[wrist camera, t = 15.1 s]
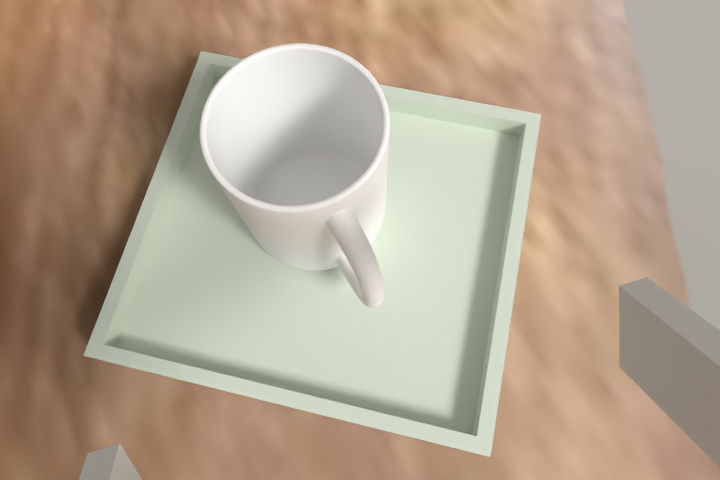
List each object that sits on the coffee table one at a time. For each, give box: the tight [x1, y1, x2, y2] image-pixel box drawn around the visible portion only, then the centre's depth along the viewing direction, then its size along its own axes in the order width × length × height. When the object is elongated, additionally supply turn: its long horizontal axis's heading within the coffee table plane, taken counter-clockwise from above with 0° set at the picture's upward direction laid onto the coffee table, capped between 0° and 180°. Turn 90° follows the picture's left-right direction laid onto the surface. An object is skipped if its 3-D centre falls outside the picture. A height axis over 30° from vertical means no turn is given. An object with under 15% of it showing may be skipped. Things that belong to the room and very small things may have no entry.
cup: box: [200, 43, 390, 308], centre depth 27 cm, size 8×12×10 cm
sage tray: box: [83, 51, 541, 457], centre depth 32 cm, size 22×20×2 cm
